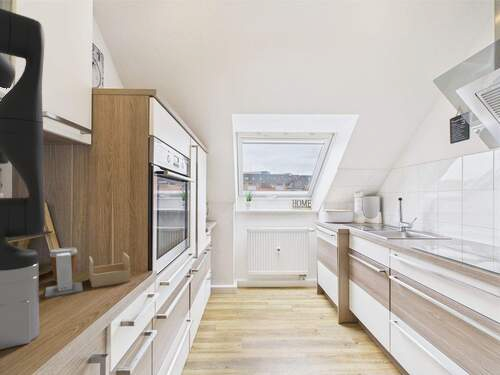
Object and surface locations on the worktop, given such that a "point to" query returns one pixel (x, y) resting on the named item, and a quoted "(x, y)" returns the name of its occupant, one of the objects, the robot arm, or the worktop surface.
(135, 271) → the worktop surface
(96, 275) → the wooden cubby shelf
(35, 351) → the worktop surface
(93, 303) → the worktop surface
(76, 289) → the slate tile
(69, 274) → the skincare box
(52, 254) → the disposable coffee cup
